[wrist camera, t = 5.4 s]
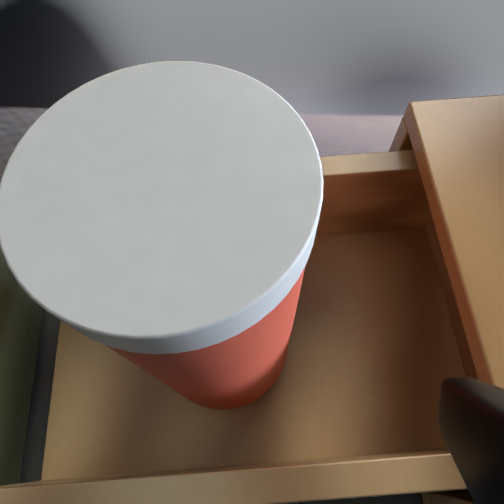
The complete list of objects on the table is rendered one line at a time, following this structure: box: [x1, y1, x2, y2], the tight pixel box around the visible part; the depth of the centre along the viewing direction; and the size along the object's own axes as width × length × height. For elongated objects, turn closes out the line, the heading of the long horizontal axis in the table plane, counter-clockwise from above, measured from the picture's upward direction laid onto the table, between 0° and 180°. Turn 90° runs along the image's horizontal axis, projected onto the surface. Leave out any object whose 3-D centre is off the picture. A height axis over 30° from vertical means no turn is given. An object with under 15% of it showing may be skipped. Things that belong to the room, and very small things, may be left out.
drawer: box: [0, 150, 478, 504], centre depth 15 cm, size 20×11×6 cm, turn 94°
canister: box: [0, 61, 324, 410], centre depth 11 cm, size 5×5×11 cm
